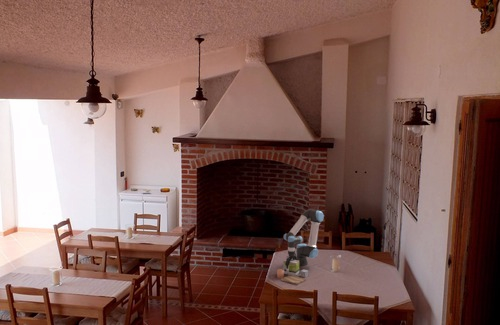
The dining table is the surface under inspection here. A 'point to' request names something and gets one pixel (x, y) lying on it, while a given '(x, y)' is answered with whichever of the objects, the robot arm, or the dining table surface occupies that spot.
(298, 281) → the slatted wooden board
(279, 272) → the terracotta jar
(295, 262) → the tea box
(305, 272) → the slate block
